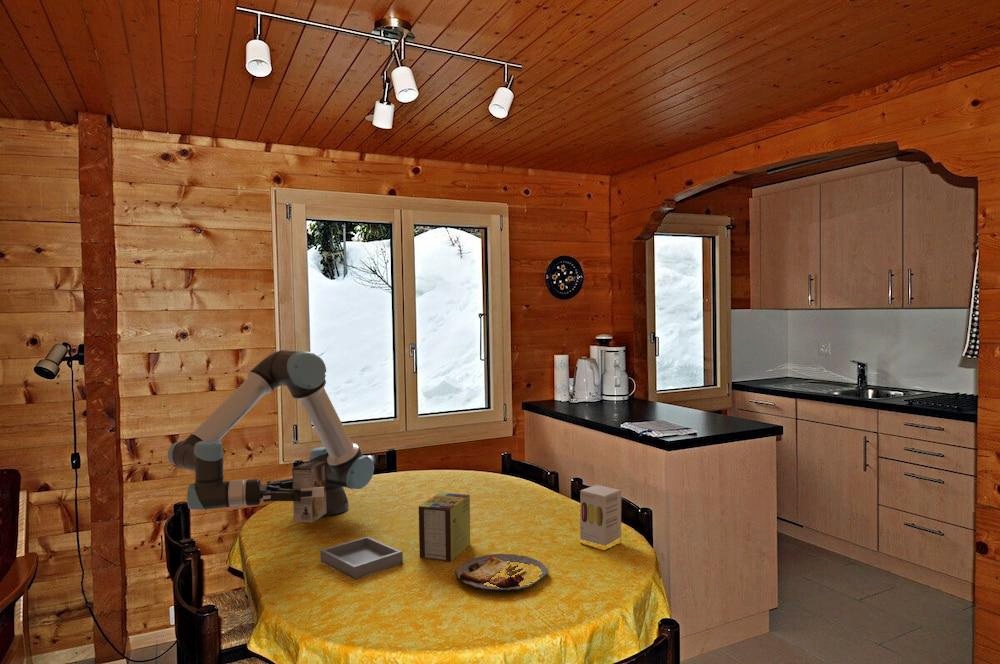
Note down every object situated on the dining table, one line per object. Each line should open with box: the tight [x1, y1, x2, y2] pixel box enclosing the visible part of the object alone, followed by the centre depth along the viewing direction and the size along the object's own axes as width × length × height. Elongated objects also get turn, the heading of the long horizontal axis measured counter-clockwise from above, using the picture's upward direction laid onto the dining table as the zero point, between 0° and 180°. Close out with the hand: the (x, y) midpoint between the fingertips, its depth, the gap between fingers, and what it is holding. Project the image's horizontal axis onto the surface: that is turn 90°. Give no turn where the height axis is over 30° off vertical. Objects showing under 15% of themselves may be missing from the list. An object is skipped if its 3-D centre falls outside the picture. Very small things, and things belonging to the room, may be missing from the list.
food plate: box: [454, 553, 549, 592], centre depth 180 cm, size 25×23×4 cm
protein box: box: [418, 491, 471, 562], centre depth 200 cm, size 10×15×16 cm
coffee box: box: [291, 460, 327, 523], centre depth 199 cm, size 9×6×16 cm
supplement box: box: [579, 484, 622, 546], centre depth 204 cm, size 10×9×17 cm
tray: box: [319, 535, 404, 580], centre depth 191 cm, size 16×18×4 cm
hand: (324, 486), depth 200 cm, fingers closed on coffee box, 10 cm apart
